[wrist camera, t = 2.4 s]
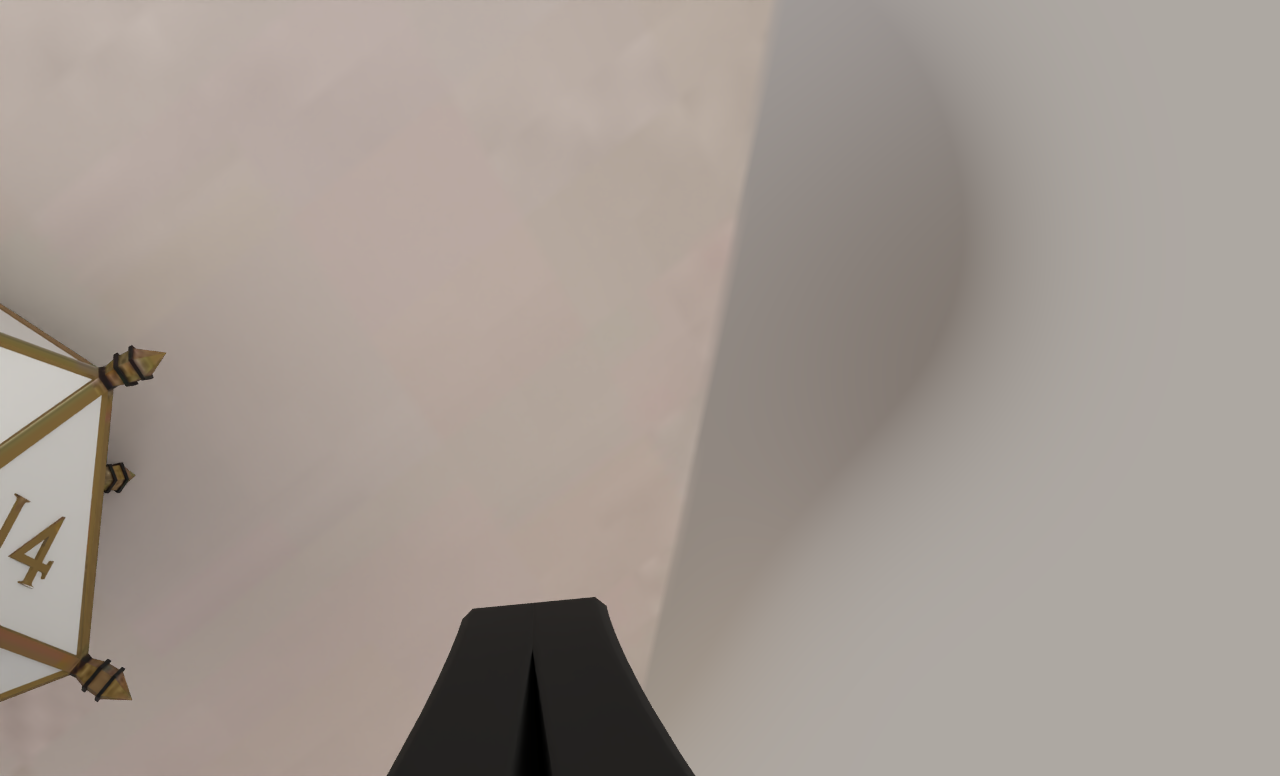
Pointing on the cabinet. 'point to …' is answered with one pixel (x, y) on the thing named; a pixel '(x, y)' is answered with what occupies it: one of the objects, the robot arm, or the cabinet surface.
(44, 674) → the game die
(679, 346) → the cabinet surface
